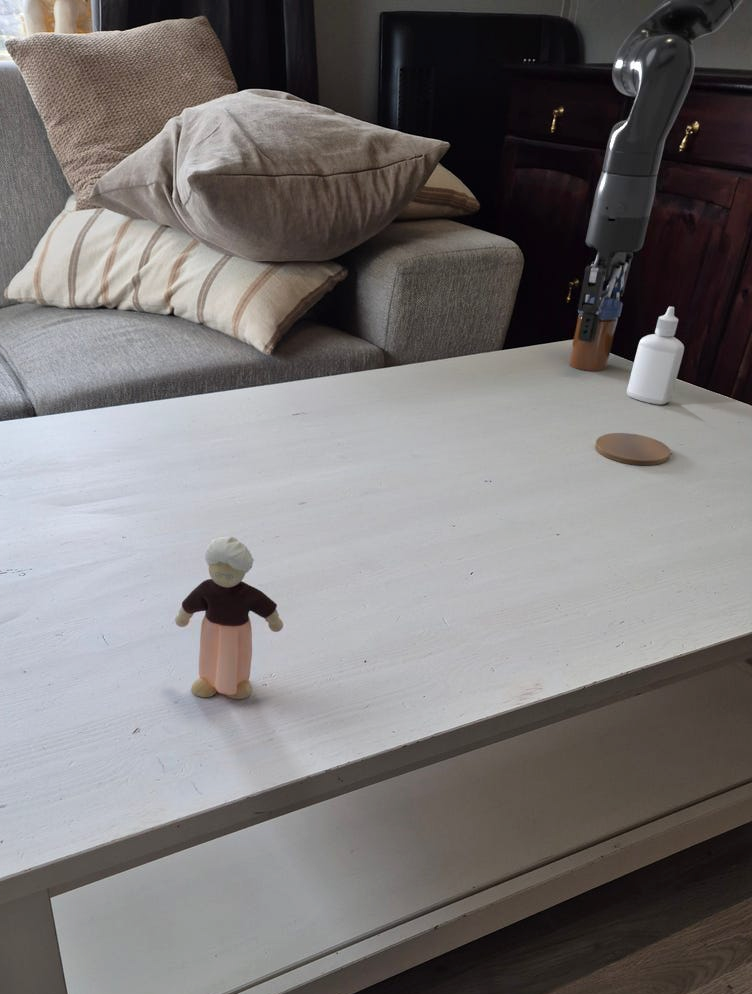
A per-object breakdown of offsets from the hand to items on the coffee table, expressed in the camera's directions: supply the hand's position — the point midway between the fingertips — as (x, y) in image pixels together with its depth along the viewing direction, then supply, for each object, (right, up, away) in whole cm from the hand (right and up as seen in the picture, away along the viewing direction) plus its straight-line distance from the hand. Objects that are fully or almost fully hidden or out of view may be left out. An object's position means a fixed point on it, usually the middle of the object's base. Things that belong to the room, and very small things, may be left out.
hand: (593, 334), depth 133 cm
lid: (0, +4, -2) cm, 4 cm away
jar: (0, -4, +3) cm, 4 cm away
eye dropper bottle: (+4, -12, -9) cm, 15 cm away
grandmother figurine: (-50, -48, -64) cm, 94 cm away
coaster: (-4, -22, -24) cm, 33 cm away
